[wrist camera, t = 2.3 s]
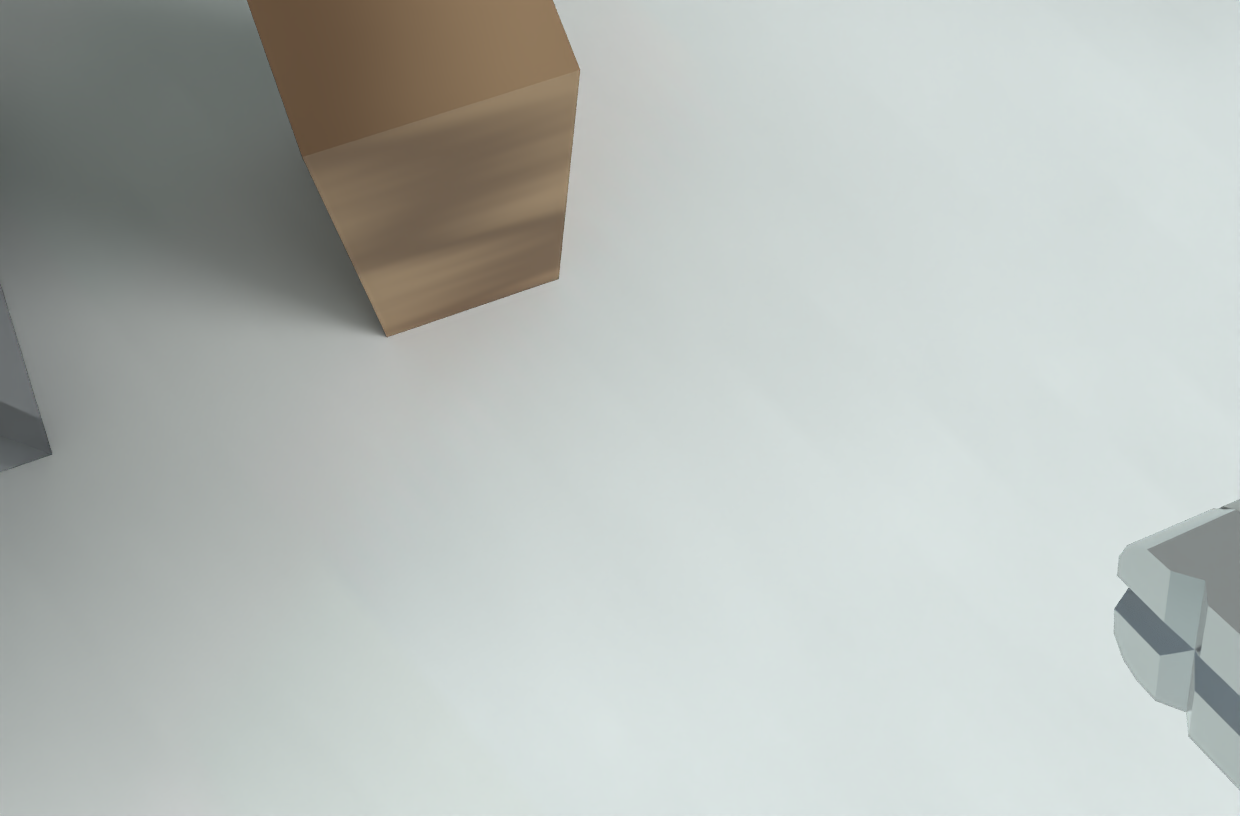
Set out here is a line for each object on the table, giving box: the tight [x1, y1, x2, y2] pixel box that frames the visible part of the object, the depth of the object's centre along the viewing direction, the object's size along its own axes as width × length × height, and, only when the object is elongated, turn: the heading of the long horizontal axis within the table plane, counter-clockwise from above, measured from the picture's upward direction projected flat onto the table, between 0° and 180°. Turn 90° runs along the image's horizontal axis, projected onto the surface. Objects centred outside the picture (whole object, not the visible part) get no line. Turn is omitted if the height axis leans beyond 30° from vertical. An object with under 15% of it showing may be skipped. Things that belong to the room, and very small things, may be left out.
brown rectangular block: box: [247, 0, 580, 337], centre depth 21 cm, size 4×6×10 cm
